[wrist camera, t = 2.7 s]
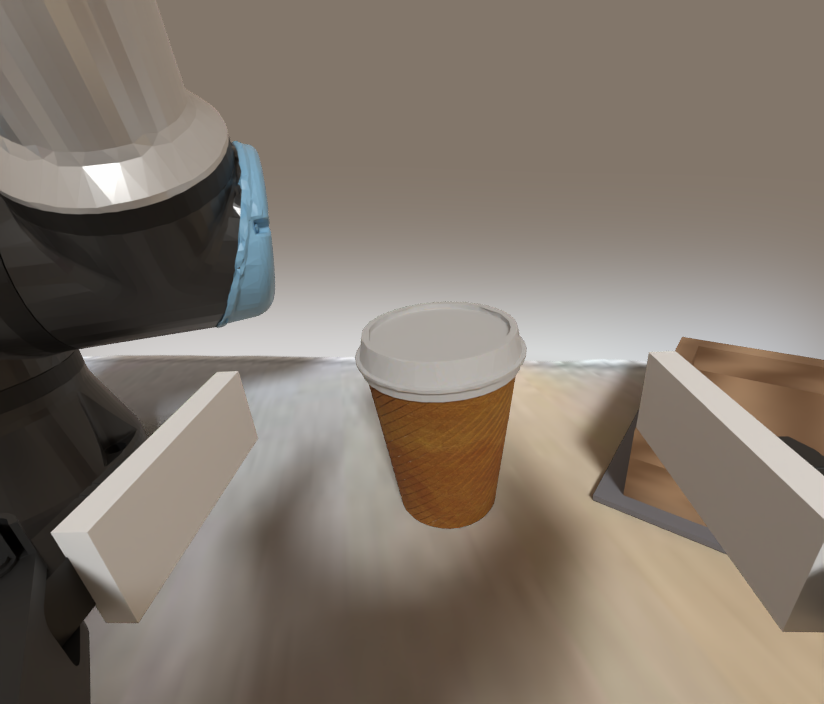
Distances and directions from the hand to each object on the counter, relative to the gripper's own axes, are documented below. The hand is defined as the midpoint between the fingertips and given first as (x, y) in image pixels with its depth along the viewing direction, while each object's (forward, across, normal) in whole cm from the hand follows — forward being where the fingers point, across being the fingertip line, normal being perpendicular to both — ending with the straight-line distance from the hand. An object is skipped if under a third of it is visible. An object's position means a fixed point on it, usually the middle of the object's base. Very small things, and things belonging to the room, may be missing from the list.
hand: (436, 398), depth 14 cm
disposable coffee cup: (+10, 0, -14) cm, 17 cm away
